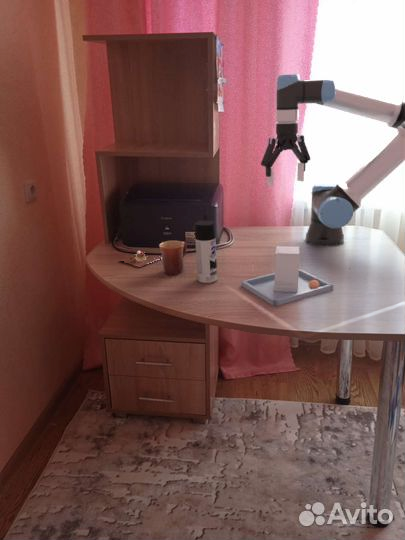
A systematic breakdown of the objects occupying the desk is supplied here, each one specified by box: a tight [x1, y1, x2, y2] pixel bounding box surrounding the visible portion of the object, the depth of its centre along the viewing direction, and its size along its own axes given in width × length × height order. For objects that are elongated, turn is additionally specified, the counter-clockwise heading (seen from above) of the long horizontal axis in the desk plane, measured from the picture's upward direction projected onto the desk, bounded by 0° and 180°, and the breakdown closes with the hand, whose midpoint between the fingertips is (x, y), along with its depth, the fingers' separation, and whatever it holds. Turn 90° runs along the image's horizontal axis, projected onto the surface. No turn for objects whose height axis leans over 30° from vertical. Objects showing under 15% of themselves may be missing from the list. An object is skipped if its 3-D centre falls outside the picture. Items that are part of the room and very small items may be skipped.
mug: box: [158, 240, 188, 276], centre depth 166 cm, size 12×9×10 cm
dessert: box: [135, 249, 162, 265], centre depth 178 cm, size 12×12×5 cm
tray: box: [240, 268, 334, 307], centre depth 148 cm, size 22×18×2 cm
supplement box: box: [274, 245, 300, 292], centre depth 146 cm, size 7×7×13 cm
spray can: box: [194, 220, 218, 284], centre depth 155 cm, size 7×7×20 cm
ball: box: [309, 280, 319, 289], centre depth 145 cm, size 3×3×3 cm
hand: (285, 183), depth 171 cm, fingers open, 13 cm apart
